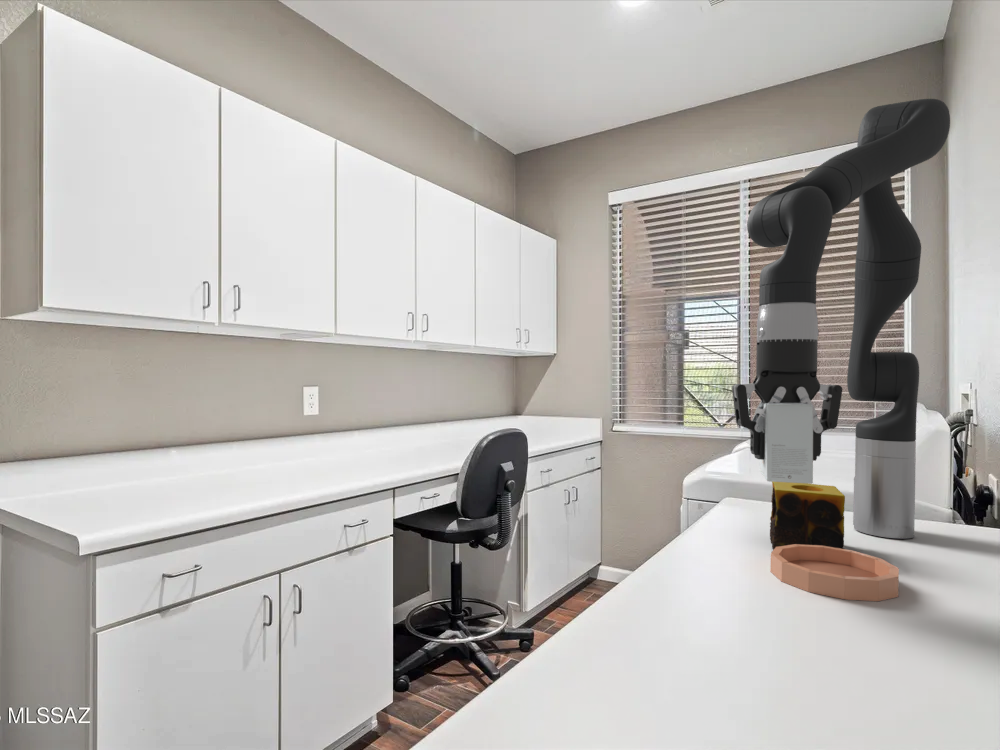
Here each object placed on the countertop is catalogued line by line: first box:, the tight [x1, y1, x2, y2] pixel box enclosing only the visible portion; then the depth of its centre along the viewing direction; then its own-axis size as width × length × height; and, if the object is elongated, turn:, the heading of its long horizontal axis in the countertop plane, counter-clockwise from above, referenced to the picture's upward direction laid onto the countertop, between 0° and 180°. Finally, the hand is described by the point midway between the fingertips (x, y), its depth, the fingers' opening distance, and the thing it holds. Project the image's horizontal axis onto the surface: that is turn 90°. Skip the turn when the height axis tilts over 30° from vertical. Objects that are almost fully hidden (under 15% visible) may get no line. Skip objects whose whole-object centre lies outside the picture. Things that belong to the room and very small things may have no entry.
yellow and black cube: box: [769, 482, 846, 551], centre depth 94 cm, size 10×10×10 cm
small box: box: [759, 403, 814, 484], centre depth 78 cm, size 8×6×10 cm
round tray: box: [769, 544, 900, 602], centre depth 78 cm, size 15×15×3 cm
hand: (784, 458), depth 78 cm, fingers closed on small box, 6 cm apart
